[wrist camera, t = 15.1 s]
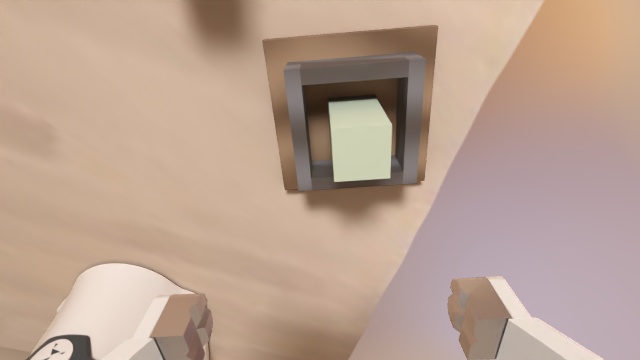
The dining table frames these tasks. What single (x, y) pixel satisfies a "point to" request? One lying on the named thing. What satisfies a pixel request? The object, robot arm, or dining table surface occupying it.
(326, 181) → the socket board
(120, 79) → the dining table surface
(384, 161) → the sage peg
